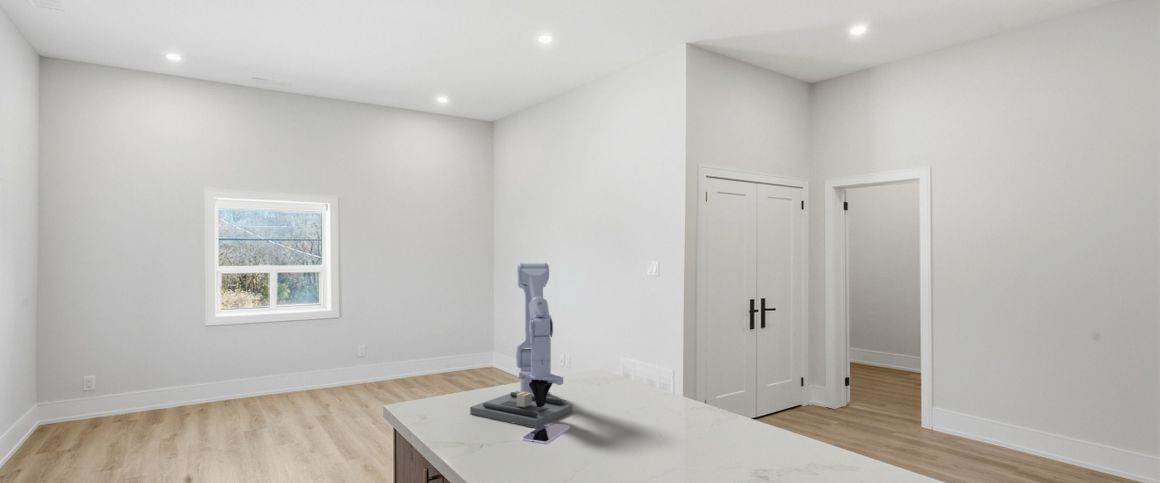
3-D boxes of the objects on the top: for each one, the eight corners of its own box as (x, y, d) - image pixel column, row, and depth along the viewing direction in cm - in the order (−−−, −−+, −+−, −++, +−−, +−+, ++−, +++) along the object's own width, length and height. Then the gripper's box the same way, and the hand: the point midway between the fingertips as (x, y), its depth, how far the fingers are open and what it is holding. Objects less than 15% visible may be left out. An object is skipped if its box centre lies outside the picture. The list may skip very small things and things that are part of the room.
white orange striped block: (524, 403, 174) (524, 391, 174) (531, 404, 172) (531, 392, 172) (516, 405, 171) (516, 393, 171) (524, 407, 169) (524, 395, 169)
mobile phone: (519, 437, 148) (546, 421, 162) (519, 441, 148) (546, 424, 162) (546, 441, 145) (571, 424, 159) (546, 445, 145) (571, 428, 159)
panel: (508, 400, 186) (509, 393, 186) (571, 411, 173) (571, 404, 173) (470, 413, 171) (470, 406, 171) (536, 427, 158) (536, 420, 158)
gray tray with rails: (515, 394, 185) (515, 390, 185) (568, 404, 174) (568, 399, 174) (479, 407, 171) (479, 402, 171) (535, 418, 160) (535, 413, 160)
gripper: (512, 358, 169) (512, 405, 169) (553, 364, 161) (553, 413, 161) (527, 355, 175) (527, 400, 175) (567, 360, 167) (567, 407, 167)
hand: (540, 406), depth 168 cm, fingers closed
